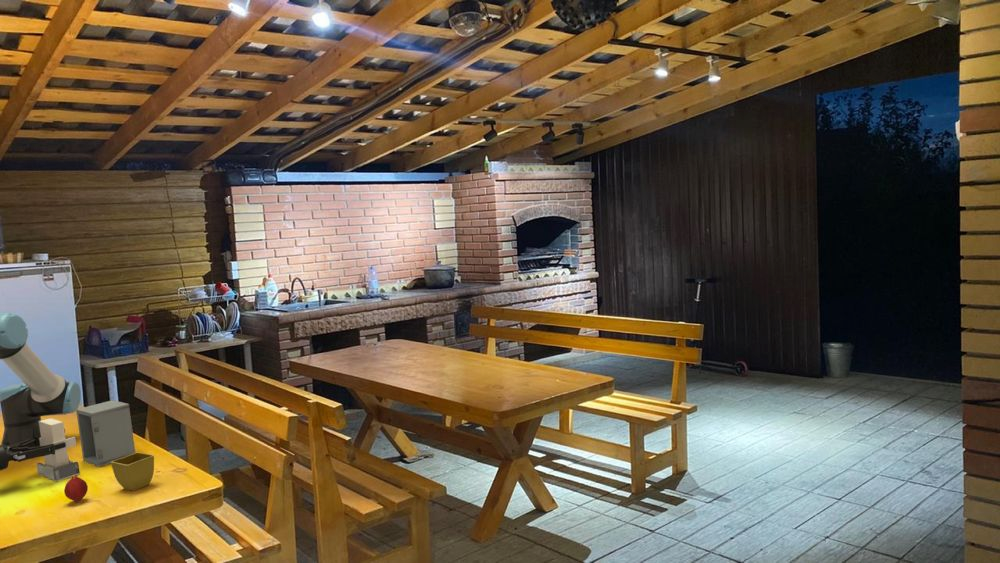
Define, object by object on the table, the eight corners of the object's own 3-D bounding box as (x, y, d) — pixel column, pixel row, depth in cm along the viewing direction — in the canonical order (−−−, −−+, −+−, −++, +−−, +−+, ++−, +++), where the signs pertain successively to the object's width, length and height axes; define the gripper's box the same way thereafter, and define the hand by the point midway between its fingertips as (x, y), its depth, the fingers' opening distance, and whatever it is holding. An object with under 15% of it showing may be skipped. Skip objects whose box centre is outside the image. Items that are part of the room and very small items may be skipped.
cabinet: (83, 461, 252) (75, 409, 250) (119, 450, 261) (112, 400, 259) (100, 467, 244) (92, 414, 242) (137, 456, 253) (130, 404, 251)
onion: (72, 498, 217) (68, 472, 216) (92, 496, 217) (89, 470, 217) (62, 506, 211) (58, 479, 210) (83, 504, 212) (79, 477, 211)
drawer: (37, 473, 242) (36, 461, 242) (60, 466, 248) (58, 455, 247) (56, 481, 233) (54, 469, 233) (79, 474, 238) (78, 462, 238)
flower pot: (130, 494, 216) (126, 465, 215) (113, 490, 221) (109, 461, 220) (158, 484, 224) (154, 455, 223) (141, 480, 228) (137, 451, 228)
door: (45, 469, 242) (38, 421, 240) (58, 465, 245) (51, 417, 243) (58, 474, 236) (51, 425, 234) (71, 470, 239) (64, 421, 237)
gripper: (-22, 466, 233) (55, 444, 250) (5, 478, 219) (84, 455, 236) (-25, 443, 232) (52, 423, 249) (1, 454, 218) (81, 432, 235)
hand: (68, 438), depth 243 cm, fingers closed on door, 10 cm apart
